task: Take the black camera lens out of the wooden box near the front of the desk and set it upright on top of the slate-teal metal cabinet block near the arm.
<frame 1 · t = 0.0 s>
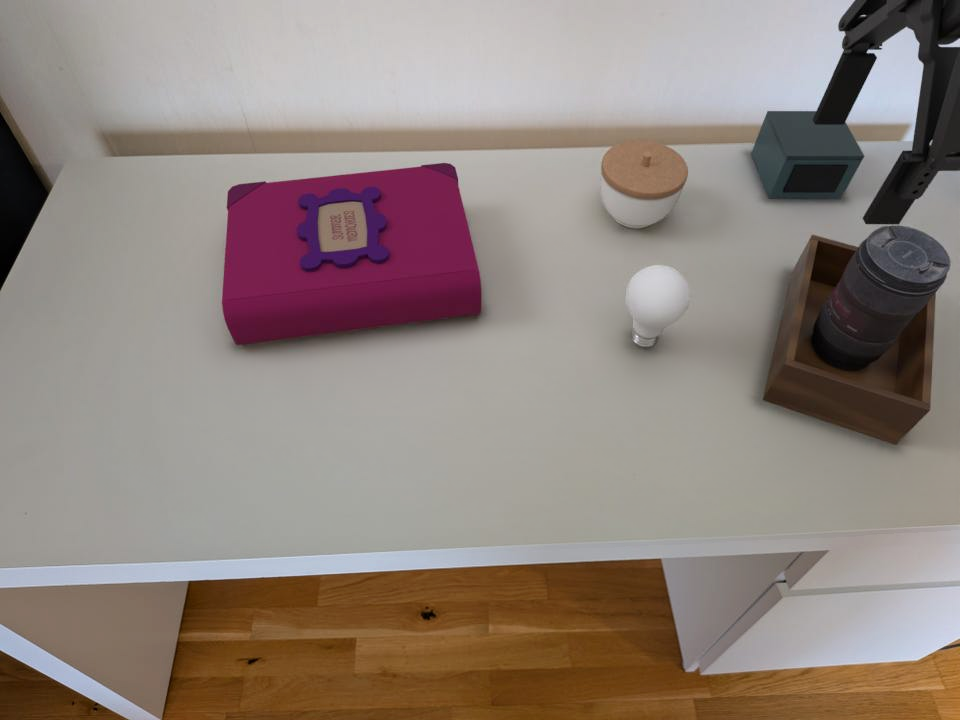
hand: (852, 168, 59), 24 cm above the table, tool pointing down, fingers open, 13 cm apart
camera lens: (840, 349, 77), resting on wooden box
book: (356, 273, 84), on the table
light bulb: (642, 342, 78), on the table
wooden box: (838, 351, 77), on the table
cabinet block: (794, 175, 96), on the table
trinket box: (633, 214, 91), on the table
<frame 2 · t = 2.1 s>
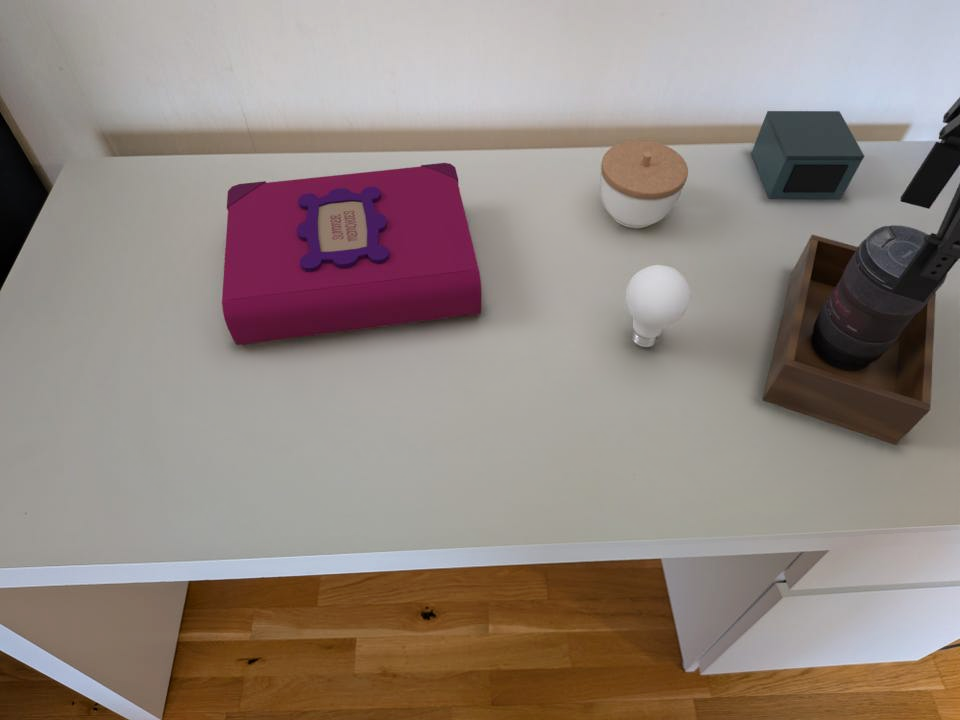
hand: (911, 246, 64), 16 cm above the table, tool pointing down, fingers open, 13 cm apart
nothing on the table moved.
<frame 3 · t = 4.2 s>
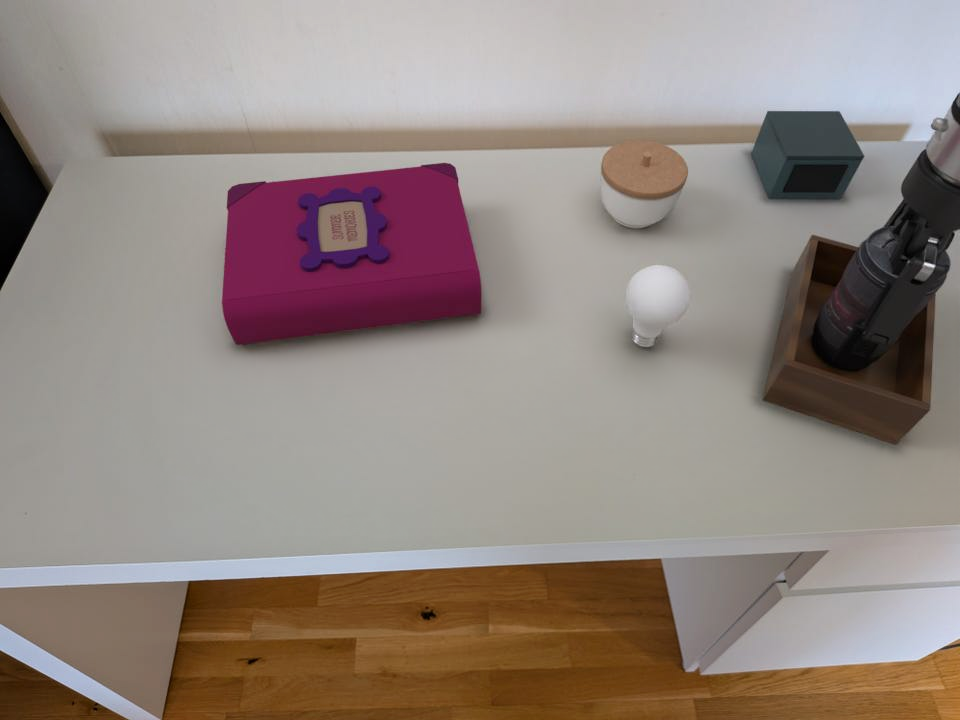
hand: (849, 335, 75), 3 cm above the table, tool pointing down, fingers closed on camera lens, 8 cm apart
camera lens: (840, 349, 77), resting on wooden box, touching gripper
everything else where it was.
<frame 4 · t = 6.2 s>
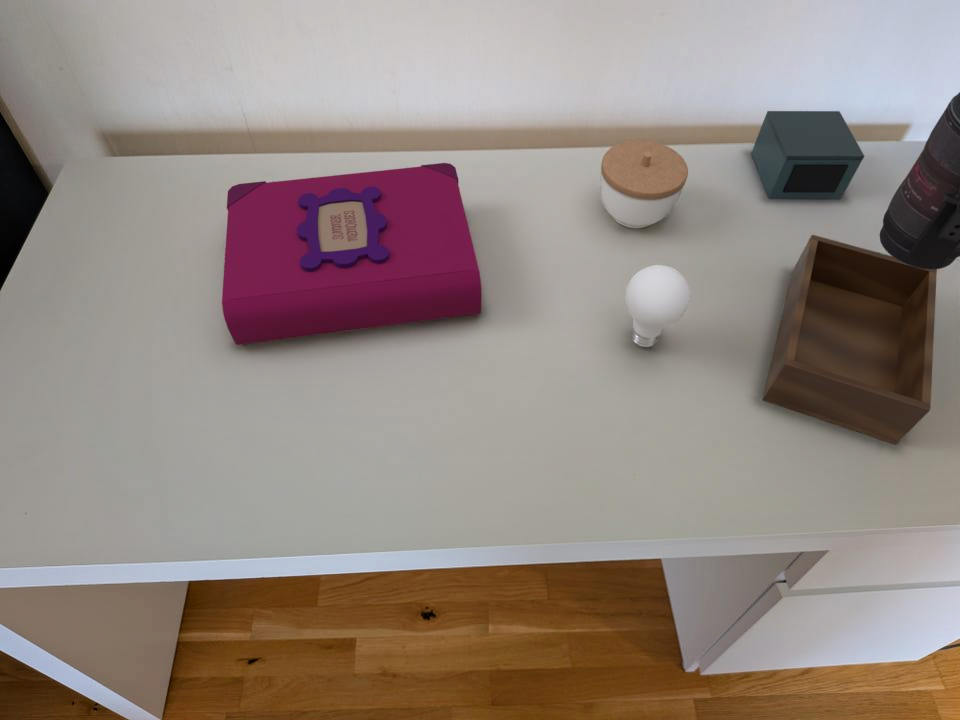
hand: (927, 227, 62), 19 cm above the table, tool pointing down, fingers closed on camera lens, 8 cm apart
camera lens: (914, 247, 64), point 16 cm above the table, touching gripper
everything else where it was.
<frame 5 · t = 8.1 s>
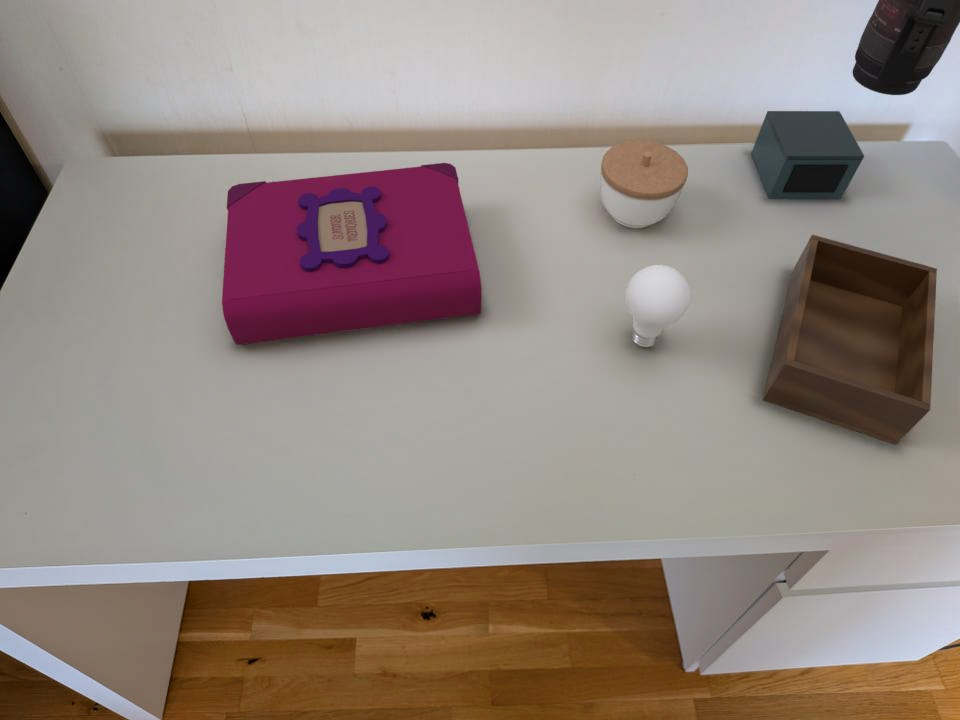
hand: (893, 59, 72), 23 cm above the table, tool pointing down, fingers closed on camera lens, 8 cm apart
camera lens: (882, 80, 73), point 21 cm above the table, touching gripper
everything else where it was.
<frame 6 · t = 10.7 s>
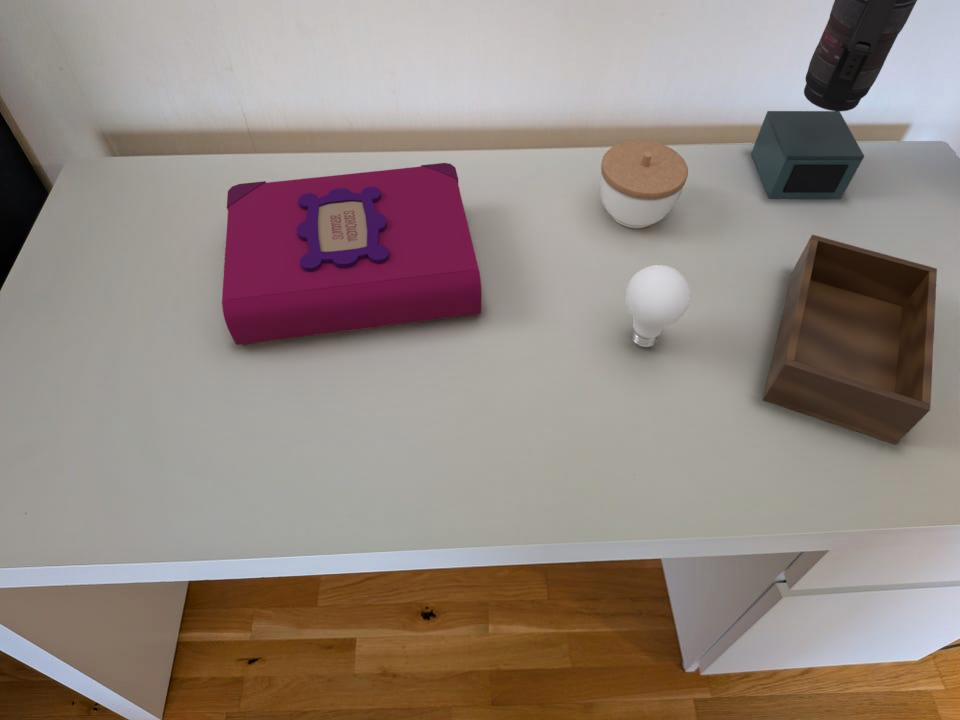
hand: (837, 81, 84), 14 cm above the table, tool pointing down, fingers closed on camera lens, 8 cm apart
camera lens: (829, 98, 86), point 12 cm above the table, touching gripper
everything else where it was.
when the fingers open (9 cm above the table, at t = 12.5 s): camera lens stays where it is, resting on cabinet block.
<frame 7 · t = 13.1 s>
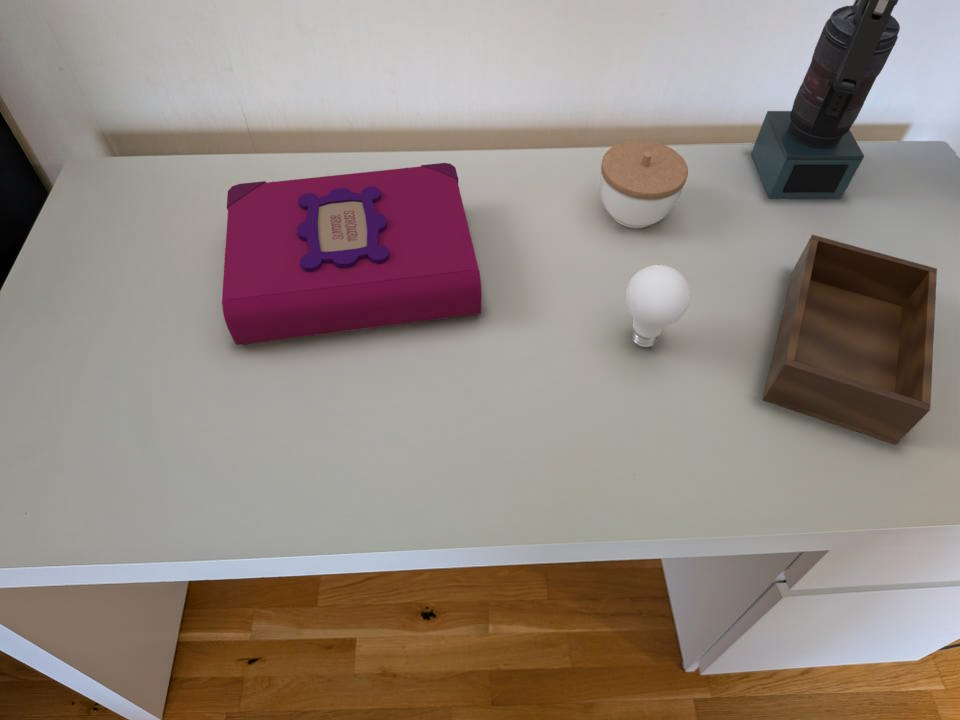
hand: (827, 105, 87), 11 cm above the table, tool pointing down, fingers open, 13 cm apart
camera lens: (813, 134, 90), point 7 cm above the table, touching cabinet block
everything else where it was.
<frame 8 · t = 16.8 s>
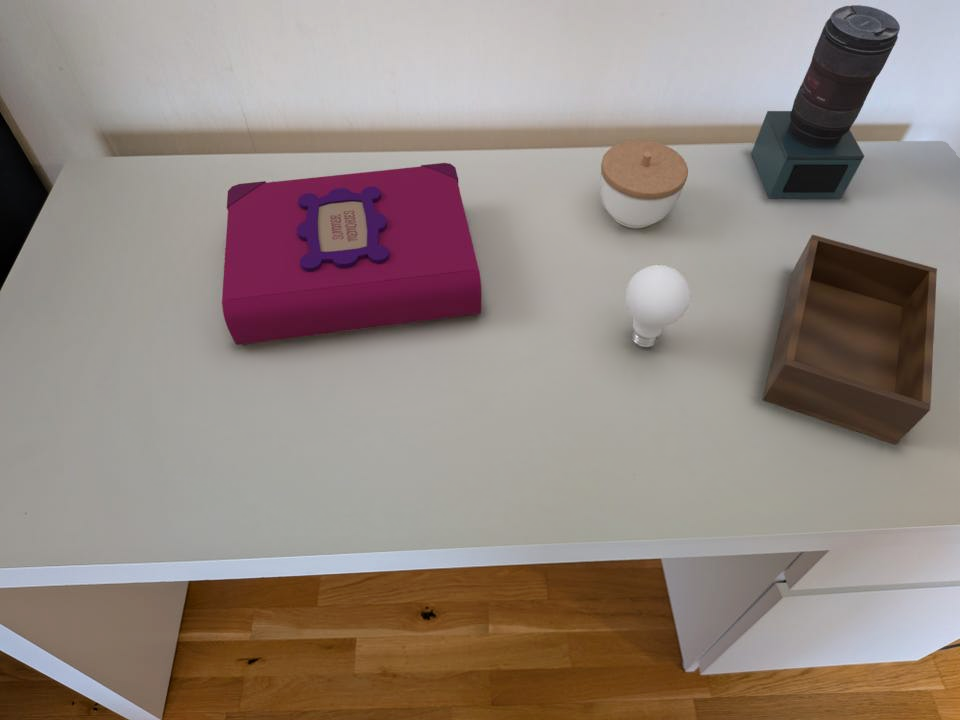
nothing on the table moved.
at the end: camera lens inside the target area on the cabinet block (0.1 cm from its centre), point 6.8 cm above the cabinet block's base; camera lens tilted 0° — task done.
